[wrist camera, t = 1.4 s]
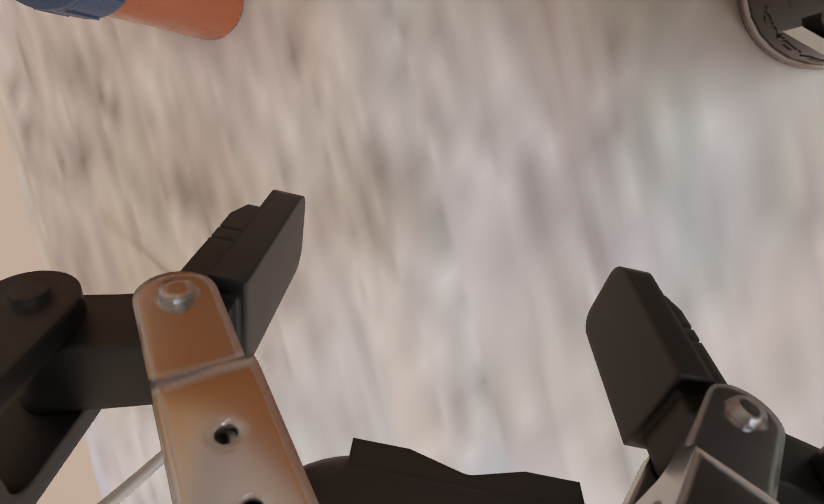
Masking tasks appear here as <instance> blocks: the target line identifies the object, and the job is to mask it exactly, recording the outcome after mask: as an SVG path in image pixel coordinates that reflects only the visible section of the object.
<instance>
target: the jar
mask: <svg viewBox="0 0 824 504" xmlns="http://www.w3.org/2000/svg"><path fill="white" fill-rule="evenodd" d="M242 9H243V0H126V1H125V3H124V4H123V5H122V6H121V7H120V8H119V9H118V10H116V11H115V12H114V13H112V14H110V15H108V16H109V17H113V18H117V19H121V20H125V21H129V22H133V23H137V24H142V25H146V26H150V27H154V28H158V29H162V30H166V31H171V32H175V33H179V34H183V35H187V36H191V37H195V38H199V39H204V40H215V39H219V38H221V37H224V36H225V35H227V34H228V33H229V32H230V31H232V30H233V28H234V27H235V26H236V24H237V23H238V21H239V19H240V16H241V13H242Z"/></svg>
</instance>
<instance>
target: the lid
mask: <svg viewBox="0 0 824 504" xmlns="http://www.w3.org/2000/svg"><path fill="white" fill-rule="evenodd" d="M16 1H18V2H20V3H22V4H24V5H26V6H29V7H32V8H33V9H35V10H40V11H45V12H49V13H54V14H58V15H63V16H67V17H69V16H72V17H77V18H82V19H95V20H99V18H102V17H105V16H108V15H110V14H112V13H114V12H115V11H116V10H118V9H119V8H120V7H121V6H122V5H123V4H124V3H125V1H126V0H16Z"/></svg>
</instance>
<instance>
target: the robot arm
mask: <svg viewBox="0 0 824 504" xmlns="http://www.w3.org/2000/svg"><path fill="white" fill-rule="evenodd" d="M739 8H740V12H741V16H742V19H743V22H744V25H745V27H746V29H747V31H748V33H749V34H750V36H751V38H752V39H753V40H754V41H755V43H756V44H757V45H758V46H759V47H760V48H761V49H762V50H763V51H764V52H766V53H767V54H768V55H770V56H771V57H773V58H774V59H776V60H778V61H780V62H783V63H785V64H788V65H791V66H794V67H799V68H804V69H824V0H739ZM304 213H305V198H304V196H301V195H296V194H291V193H287V192H282V191H278V190H273V191H272V192H271V193H270V194H269V196H268V197H267V198H266V200H265V201H264V202H263V203H262V205H261V206H260V207H258V206H253V205H249V204H248V205H246V206H244V207H242V208H240V209H238V210H236V211H234V212H231V213H230V214H229V215H228V217H227V218H226V219H225V220H224V221H223V222H222V224H221V225H220V227H218V228H217V229H216V231H215V232H214V233H213V234H212V237H209V239H208V240H207V241H206V242H205V243H204V244H203V246H202V247H201V248H200V249H199V250H198V251H197V253H196V254H195V255H194V256H193V257H192V258H191V259H190V261H189V262H188V263H187V264H186V265H185V266H184V268H183V269H182V270H181V271H180V272H169V273H165V274H161V275H158V276H155V277H153V278H151V279H149V280H147V281H146V282H144V283H143V284H142V285H140V286H139V287H138V289H137V290H136V291H135V293H134V294H117V295H83V292H82V288H81V285H80V283H79V281H78V280H77V279H76V278H74V277H73V276H71V275H69V274H66V273H62V272H58V271H33V272H27V273H22V274H18V275H15V276H11V277H9V278H6V279H4V280H1V281H0V504H36V503H37V501H38V500H39V498H40V497H41V496H42V494H43V493H44V491H45V490H46V488H47V487H48V485H49V484H50V482H51V481H52V480H53V478H54V477H55V475H56V474H57V472H58V471H59V469H60V468H61V467H62V465H63V463H64V462H65V461H66V459H67V458H68V457H69V455H70V454H71V452H72V451H73V449H74V448H75V447H76V445H77V444H78V442H79V441H80V439H81V438H82V436H83V435H84V434H85V432H86V431H87V429H88V428H89V426H90V425H91V423H92V422H93V421H94V419H95V418H96V416H97V415H98V413H99V412H100V410H101V409H105V408H117V407H128V406H139V405H151V404H152V406H153V411H154V416H155V421H156V425H157V430H158V435H159V440H160V445H161V450H162V455H163V459H164V464H165V469H166V474H167V479H168V484H169V489H170V494H171V499H172V504H584V500H583V495H582V491H581V487H580V482H575V481H570V480H564V479H559V478H554V477H549V476H544V475H539V474H534V473H529V472H514V473H500V474H485V475H466V474H464V473H461V472H459V471H457V470H454V469H452V468H450V467H448V466H446V465H444V464H441V463H439V462H437V461H435V460H433V459H430V458H428V457H426V456H424V455H422V454H420V453H417V452H415V451H413V450H411V449H407V448H402V447H397V446H392V445H387V444H382V443H377V442H372V441H366V440H361V439H356V438H353V442H352V446H351V451H350V455H349V456H339V457H332V458H327V459H322V460H319V461H316V462H313V463H310V464H307V465H305V466H303V465H302V463H301V461H300V458H299V456H298V454H297V451H296V449H295V447H294V444H293V442H292V440H291V437H290V435H289V433H288V430H287V428H286V426H285V423H284V421H283V419H282V416H281V414H280V412H279V409H278V407H277V405H276V402H275V400H274V398H273V395H272V393H271V391H270V388H269V386H268V384H267V381H266V379H265V377H264V374H263V372H262V370H261V367H260V365H259V363H258V361H257V359H256V358H255V356H254V353H255V351H256V350H257V348H258V346H259V344H260V342H261V340H262V338H263V336H264V334H265V332H266V330H267V328H268V326H269V324H270V322H271V320H272V318H273V316H274V314H275V312H276V310H277V308H278V306H279V304H280V302H281V300H282V298H283V296H284V294H285V292H286V290H287V288H288V286H289V284H290V282H291V280H292V278H293V276H294V274H295V272H296V270H297V267H298V264H299V260H300V256H301V250H302V239H303V226H304ZM586 334H587V337H588V340H589V343H590V346H591V349H592V352H593V355H594V358H595V361H596V364H597V367H598V370H599V373H600V376H601V378H602V381H603V384H604V387H605V390H606V393H607V396H608V399H609V402H610V405H611V408H612V411H613V414H614V417H615V420H616V423H617V426H618V429H619V432H620V435H621V438H622V441H623V444H624V445H628V446H633V447H638V448H643V449H647V451H648V454H649V456H648V457H647V459H646V460H645V461H644V462H643V463H642V465H641V466H640V468H639V471H638V473H637V475H636V477H635V479H634V481H633V483H632V485H631V487H630V489H629V491H628V493H627V495H626V497H625V499H624V501H623V503H622V504H824V447H822V448H821V449H819V448H817V447H814V446H812V445H810V444H808V443H805V442H803V441H801V440H799V439H796V438H794V437H792V436H790V435H788V434H785V430H784V428H783V426H782V424H781V422H780V421H779V419H778V418H777V417H776V415H775V414H774V413H773V412H772V411H771V410H770V409H769V408H768V407H767V406H766V405H765V404H764V403H762V402H761V401H760V400H759V399H757V398H756V397H754V396H753V395H751V394H749V393H748V392H746V391H744V390H742V389H740V388H737V387H735V386H732V385H728V384H727V383H726V381H725V380H724V378H723V377H722V375H721V373H720V372H719V370H718V369H717V367H716V365H715V364H714V362H713V361H712V359H711V357H710V356H709V354H708V353H707V351H706V349H705V348H704V346H703V345H702V343H699V338H698V337H697V335H696V333H695V332H694V330H691V325H690V324H689V322H688V320H687V319H686V317H685V316H684V314H683V312H682V311H681V310H680V309H679V308H678V307H677V306H676V305H675V304H673V303H672V302H671V301H670V300H669V299H668V298H667V297H666V296H664V295H663V293H662V291H661V290H660V288H659V286H658V285H657V283H656V281H655V280H654V278H653V276H652V275H651V274H650V273H648V272H643V271H639V270H634V269H630V268H625V267H620V266H619V267H616V268H615V269H614V270H613V271H612V272H611V274H610V275H609V277H608V279H607V281H606V282H605V284H604V286H603V288H602V289H601V291H600V293H599V295H598V296H597V298H596V300H595V302H594V303H593V305H592V307H591V309H590V311H589V313H588V316H587V320H586Z"/></svg>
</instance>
